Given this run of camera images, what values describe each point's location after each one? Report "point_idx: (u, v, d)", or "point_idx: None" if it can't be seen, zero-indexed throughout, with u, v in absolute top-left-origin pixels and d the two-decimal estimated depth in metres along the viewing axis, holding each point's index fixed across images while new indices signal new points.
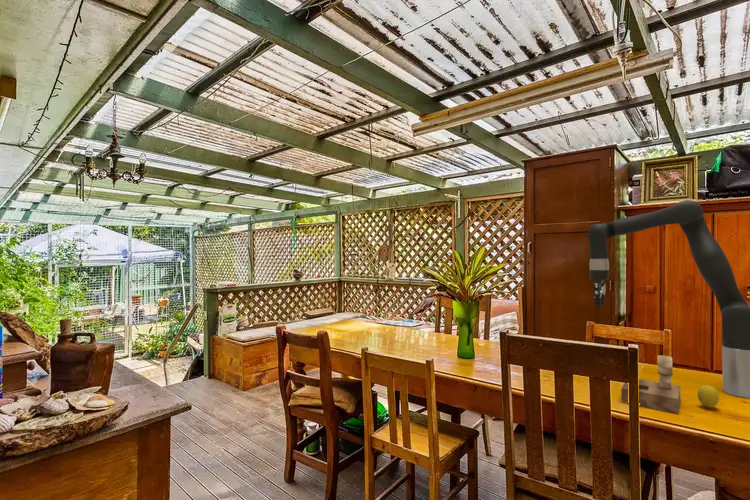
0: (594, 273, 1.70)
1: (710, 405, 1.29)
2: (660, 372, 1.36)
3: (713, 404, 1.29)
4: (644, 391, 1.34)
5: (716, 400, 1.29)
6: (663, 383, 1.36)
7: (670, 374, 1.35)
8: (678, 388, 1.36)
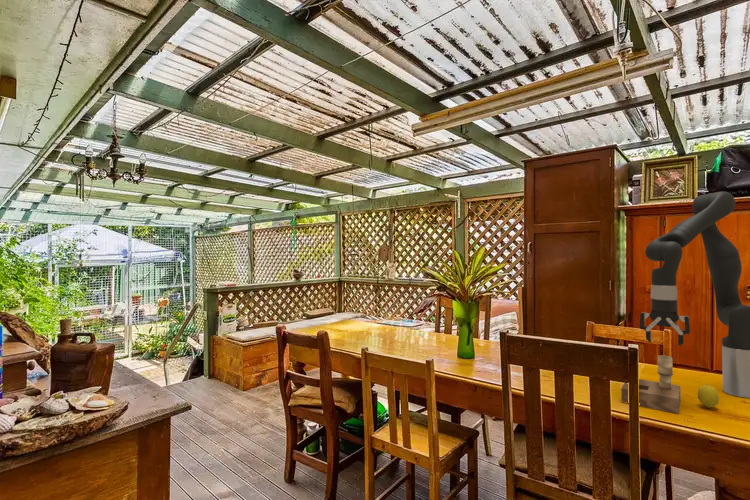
0: (676, 304, 1.33)
1: (710, 405, 1.29)
2: (660, 372, 1.36)
3: (713, 404, 1.29)
4: (644, 391, 1.34)
5: (716, 400, 1.29)
6: (663, 383, 1.36)
7: (670, 374, 1.35)
8: (678, 388, 1.36)
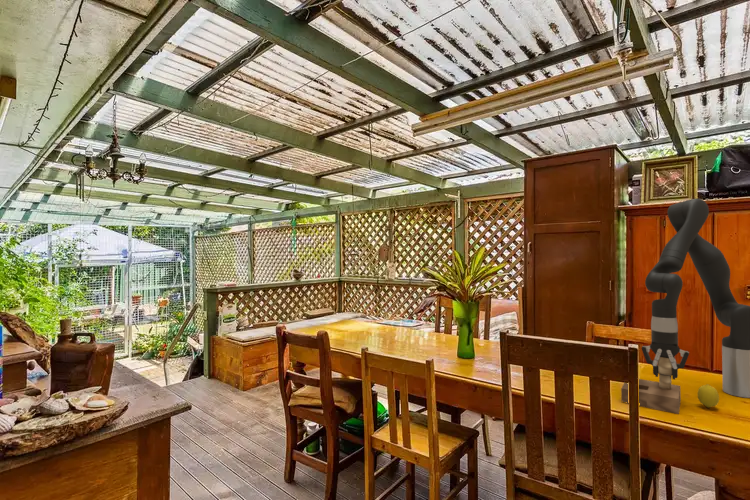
0: (676, 336, 1.33)
1: (710, 405, 1.29)
2: (660, 372, 1.36)
3: (713, 404, 1.29)
4: (644, 391, 1.34)
5: (716, 400, 1.29)
6: (663, 383, 1.36)
7: (670, 374, 1.35)
8: (678, 388, 1.36)
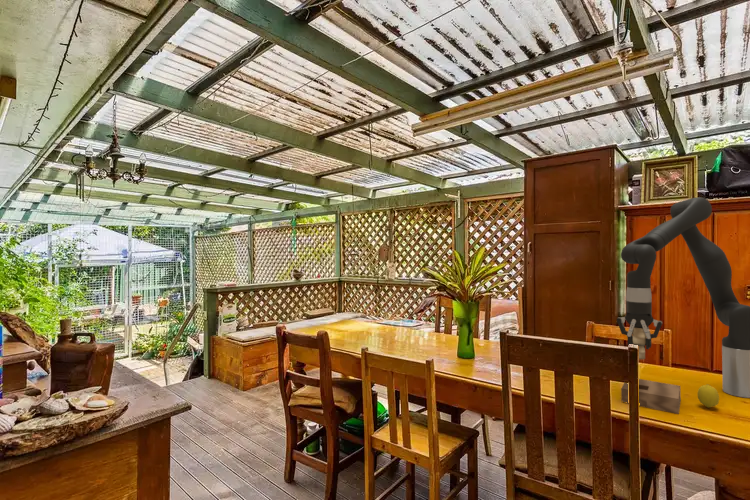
0: (650, 306, 1.35)
1: (710, 405, 1.29)
2: (634, 342, 1.38)
3: (713, 404, 1.29)
4: (644, 391, 1.34)
5: (716, 400, 1.29)
6: None
7: (644, 344, 1.36)
8: (678, 388, 1.36)
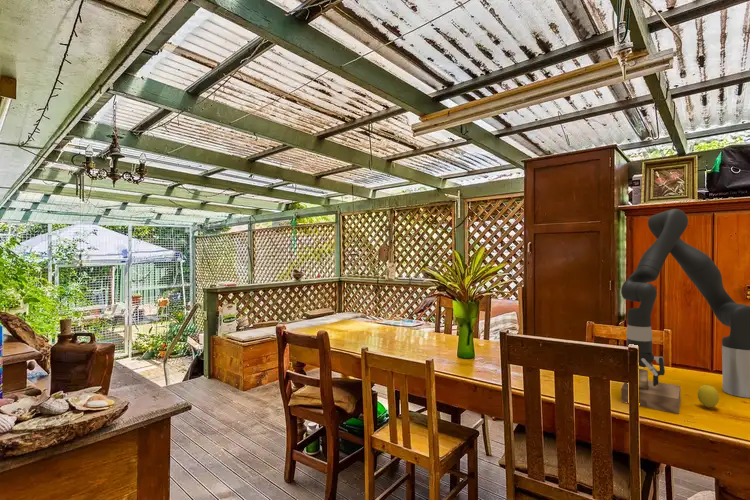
0: (650, 345, 1.35)
1: (710, 405, 1.29)
2: None
3: (713, 404, 1.29)
4: (644, 391, 1.34)
5: (716, 400, 1.29)
6: None
7: (645, 387, 1.36)
8: (678, 388, 1.36)
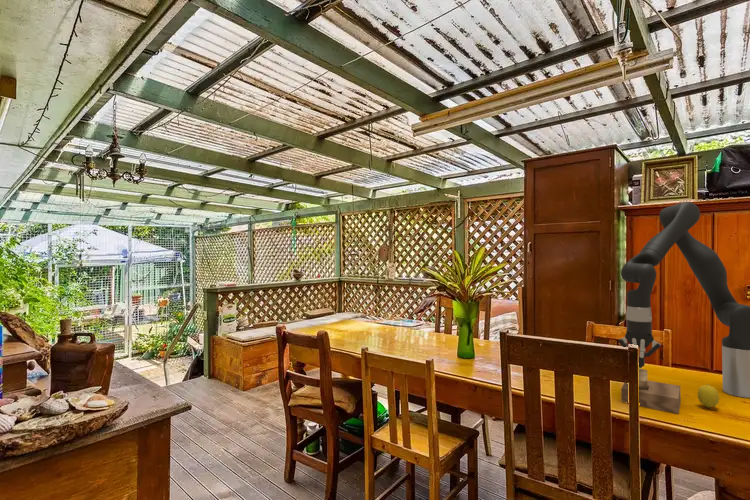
0: (650, 326, 1.35)
1: (710, 405, 1.29)
2: None
3: (713, 404, 1.29)
4: (644, 391, 1.34)
5: (716, 400, 1.29)
6: None
7: (645, 387, 1.36)
8: (678, 388, 1.36)
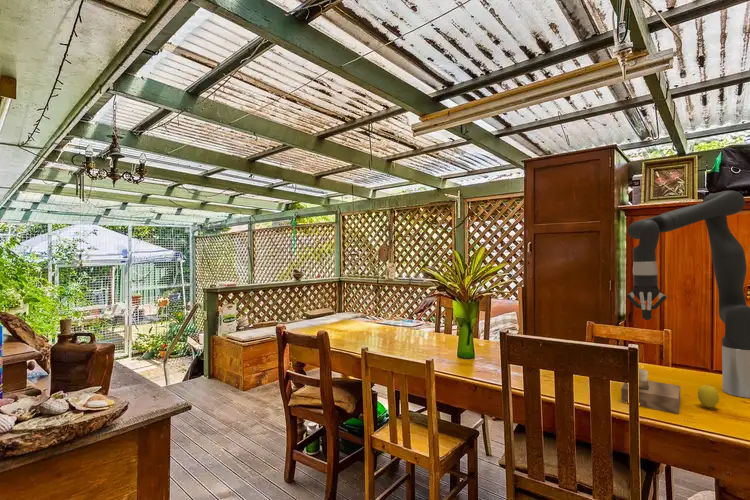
0: (656, 279, 1.41)
1: (710, 405, 1.29)
2: None
3: (713, 404, 1.29)
4: (644, 391, 1.34)
5: (716, 400, 1.29)
6: None
7: (645, 387, 1.36)
8: (678, 388, 1.36)
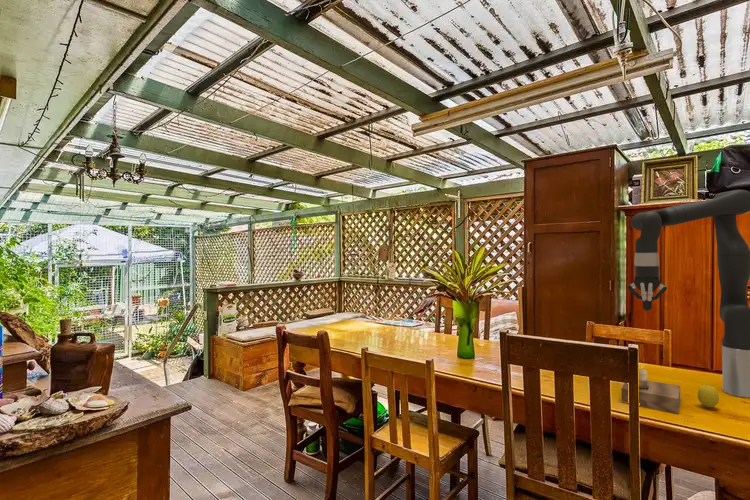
0: (657, 270, 1.43)
1: (710, 405, 1.29)
2: None
3: (713, 404, 1.29)
4: (644, 391, 1.34)
5: (716, 400, 1.29)
6: None
7: (645, 387, 1.36)
8: (678, 388, 1.36)
